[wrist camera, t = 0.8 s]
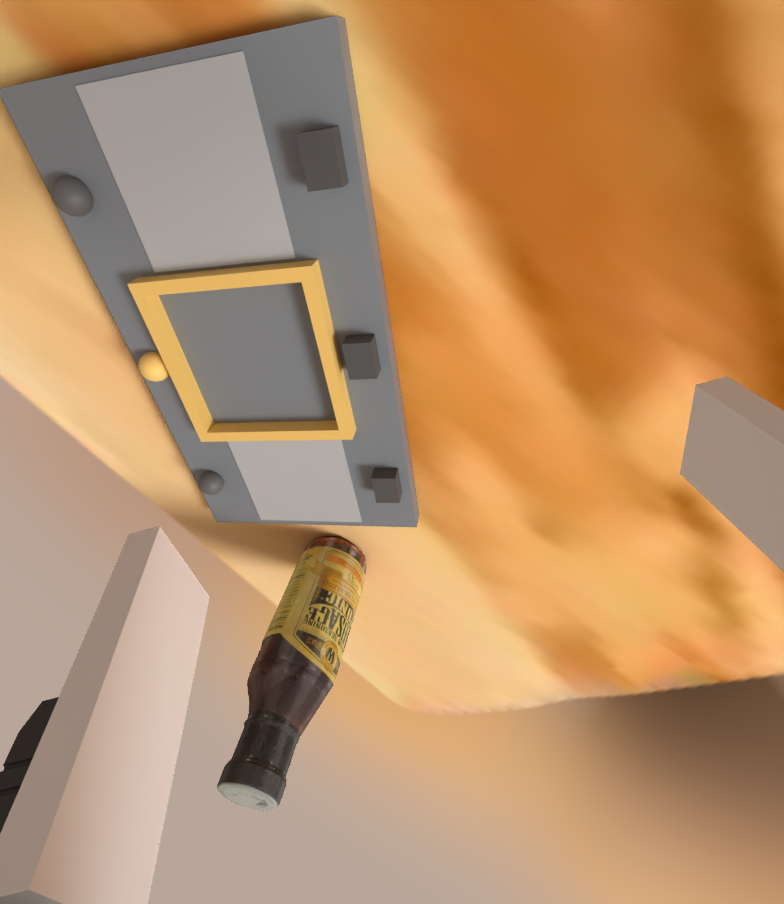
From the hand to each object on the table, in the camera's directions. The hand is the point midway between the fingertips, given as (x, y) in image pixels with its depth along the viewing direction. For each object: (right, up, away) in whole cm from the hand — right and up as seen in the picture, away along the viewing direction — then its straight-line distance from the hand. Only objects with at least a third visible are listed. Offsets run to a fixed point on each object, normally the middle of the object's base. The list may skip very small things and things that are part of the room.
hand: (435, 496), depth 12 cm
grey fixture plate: (-10, +8, +21) cm, 24 cm away
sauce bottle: (-6, -8, +33) cm, 35 cm away
